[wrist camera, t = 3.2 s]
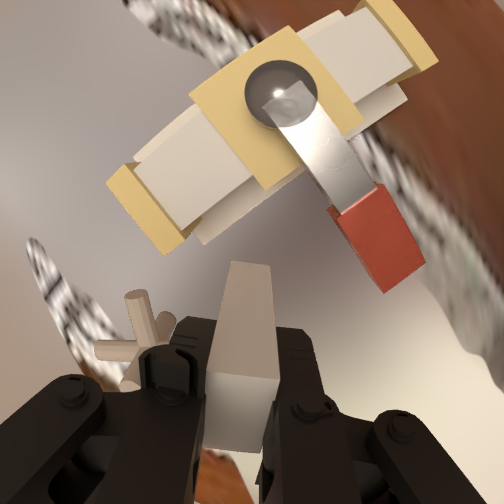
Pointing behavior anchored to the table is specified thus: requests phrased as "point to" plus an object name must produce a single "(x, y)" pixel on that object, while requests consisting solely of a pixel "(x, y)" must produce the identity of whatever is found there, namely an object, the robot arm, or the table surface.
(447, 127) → the table surface
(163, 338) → the pipe connector
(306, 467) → the robot arm
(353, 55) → the valve base
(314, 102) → the valve lever
